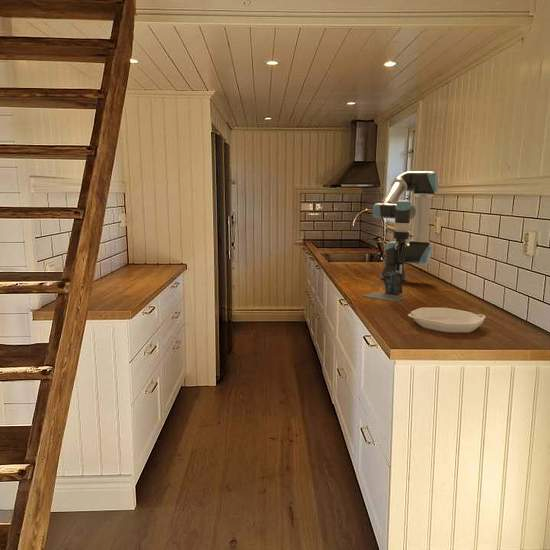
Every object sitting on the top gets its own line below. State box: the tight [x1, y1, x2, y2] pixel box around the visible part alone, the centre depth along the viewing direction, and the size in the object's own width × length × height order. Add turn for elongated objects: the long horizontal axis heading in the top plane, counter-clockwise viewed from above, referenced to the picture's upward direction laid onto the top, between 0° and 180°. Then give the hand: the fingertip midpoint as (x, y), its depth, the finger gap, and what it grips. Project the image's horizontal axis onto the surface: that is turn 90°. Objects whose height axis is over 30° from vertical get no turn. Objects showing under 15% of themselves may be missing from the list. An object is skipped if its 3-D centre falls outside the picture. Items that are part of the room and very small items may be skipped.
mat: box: [362, 291, 408, 303], centre depth 239 cm, size 14×18×1 cm
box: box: [383, 271, 403, 295], centre depth 246 cm, size 8×6×11 cm
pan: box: [407, 307, 487, 334], centre depth 189 cm, size 31×25×4 cm
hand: (398, 276), depth 249 cm, fingers closed
